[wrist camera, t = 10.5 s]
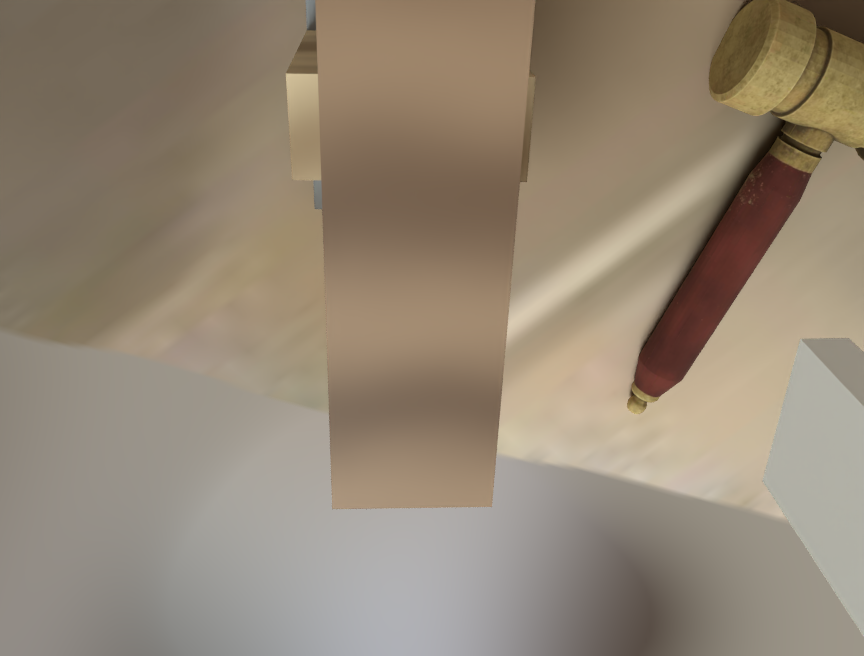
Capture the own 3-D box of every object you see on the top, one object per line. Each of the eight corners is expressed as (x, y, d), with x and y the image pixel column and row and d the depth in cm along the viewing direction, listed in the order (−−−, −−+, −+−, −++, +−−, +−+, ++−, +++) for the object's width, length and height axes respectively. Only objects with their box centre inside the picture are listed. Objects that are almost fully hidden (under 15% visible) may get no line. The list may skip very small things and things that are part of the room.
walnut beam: (325, -238, 22) (305, -285, 16) (509, -229, 22) (558, -273, 16) (341, 387, 32) (332, 509, 25) (469, 387, 32) (491, 506, 26)
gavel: (725, 462, 44) (556, 413, 41) (698, 409, 47) (543, 362, 45) (996, 93, 33) (791, 3, 31) (934, 65, 37) (748, -17, 35)
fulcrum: (304, -87, 33) (277, -77, 24) (502, -81, 33) (548, -69, 24) (316, 200, 38) (298, 293, 30) (485, 201, 39) (517, 293, 30)
